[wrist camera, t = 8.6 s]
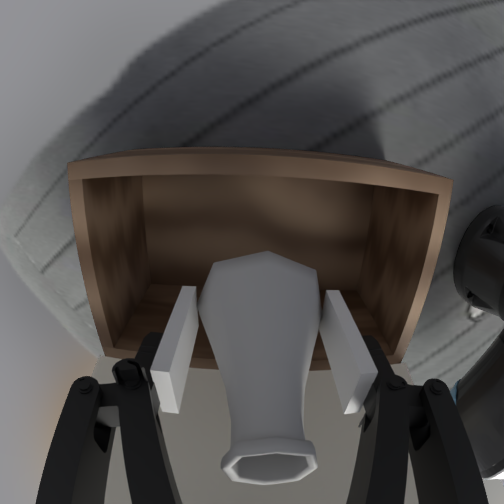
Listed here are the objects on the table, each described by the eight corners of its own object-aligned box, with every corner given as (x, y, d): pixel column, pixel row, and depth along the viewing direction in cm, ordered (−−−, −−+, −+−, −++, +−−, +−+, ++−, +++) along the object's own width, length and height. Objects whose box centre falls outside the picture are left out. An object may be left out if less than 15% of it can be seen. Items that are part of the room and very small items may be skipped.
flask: (334, 253, 15) (419, 399, 6) (309, 354, 18) (340, 493, 9) (197, 243, 15) (136, 398, 6) (198, 348, 18) (172, 492, 9)
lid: (405, 362, 22) (400, 370, 23) (99, 355, 22) (103, 363, 23) (451, 532, 8) (442, 535, 9) (48, 530, 8) (56, 532, 8)
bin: (362, 297, 34) (400, 363, 22) (144, 290, 33) (105, 356, 22) (385, 160, 27) (453, 179, 16) (132, 149, 27) (67, 162, 16)
